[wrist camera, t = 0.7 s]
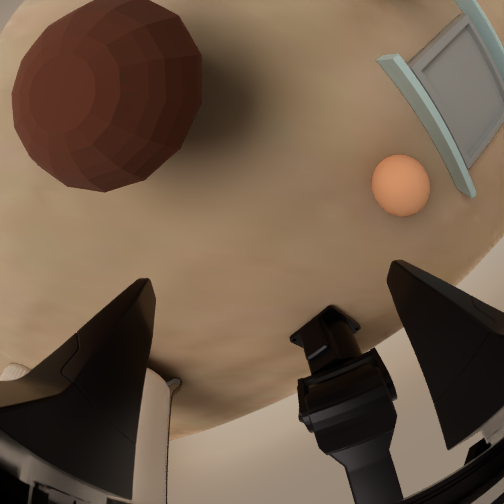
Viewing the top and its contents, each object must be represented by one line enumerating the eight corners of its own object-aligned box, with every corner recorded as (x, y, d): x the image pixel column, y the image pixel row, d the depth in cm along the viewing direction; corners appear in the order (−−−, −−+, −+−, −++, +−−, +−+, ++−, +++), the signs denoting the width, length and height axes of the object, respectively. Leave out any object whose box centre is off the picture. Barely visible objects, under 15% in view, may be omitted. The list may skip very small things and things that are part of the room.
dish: (506, 105, 17) (513, 107, 16) (460, 165, 21) (468, 169, 20) (459, 14, 12) (466, 13, 11) (402, 67, 16) (410, 67, 15)
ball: (416, 176, 21) (449, 197, 17) (381, 212, 23) (410, 239, 19) (388, 136, 19) (424, 150, 15) (350, 176, 21) (379, 198, 17)
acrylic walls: (515, 111, 17) (529, 116, 15) (457, 189, 22) (472, 199, 20) (454, -7, 10) (469, -9, 8) (375, 60, 16) (392, 58, 14)
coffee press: (193, 349, 31) (198, 601, 5) (174, 403, 38) (173, 572, 13) (58, 311, 26) (-5, 541, 1) (73, 376, 34) (44, 538, 8)
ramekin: (-4, 349, 31) (-17, 377, 25) (47, 371, 33) (35, 403, 28) (19, 385, 37) (10, 409, 31) (66, 404, 40) (59, 431, 34)
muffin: (243, 75, 16) (260, 53, 8) (153, 189, 20) (107, 260, 12) (122, 1, 12) (57, -43, 3) (47, 117, 15) (-38, 147, 7)
